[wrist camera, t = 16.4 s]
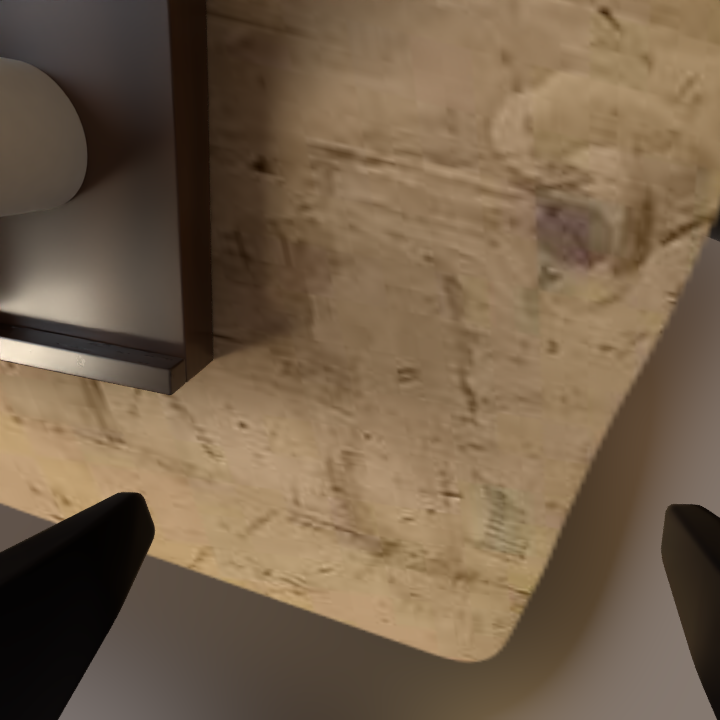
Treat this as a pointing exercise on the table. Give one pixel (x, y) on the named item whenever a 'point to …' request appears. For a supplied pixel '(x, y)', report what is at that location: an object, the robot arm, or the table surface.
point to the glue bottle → (37, 141)
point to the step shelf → (116, 197)
